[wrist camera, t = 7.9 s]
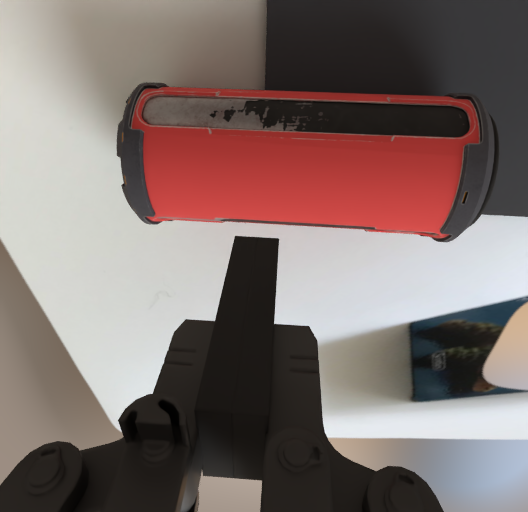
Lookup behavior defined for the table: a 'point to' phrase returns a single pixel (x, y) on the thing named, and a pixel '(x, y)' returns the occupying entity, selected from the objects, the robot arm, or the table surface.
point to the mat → (414, 62)
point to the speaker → (308, 158)
